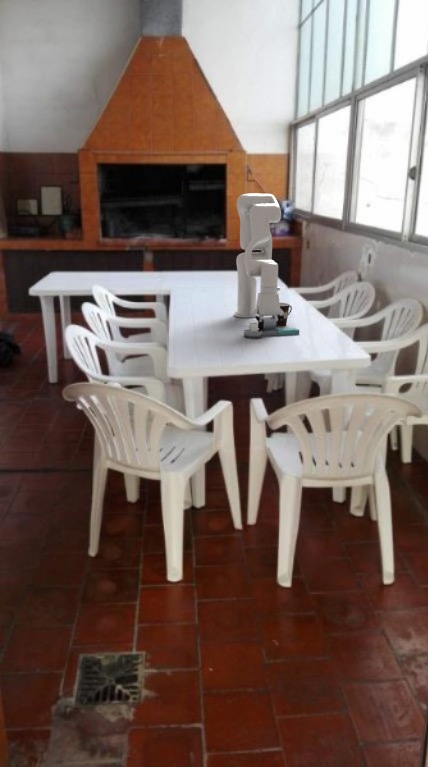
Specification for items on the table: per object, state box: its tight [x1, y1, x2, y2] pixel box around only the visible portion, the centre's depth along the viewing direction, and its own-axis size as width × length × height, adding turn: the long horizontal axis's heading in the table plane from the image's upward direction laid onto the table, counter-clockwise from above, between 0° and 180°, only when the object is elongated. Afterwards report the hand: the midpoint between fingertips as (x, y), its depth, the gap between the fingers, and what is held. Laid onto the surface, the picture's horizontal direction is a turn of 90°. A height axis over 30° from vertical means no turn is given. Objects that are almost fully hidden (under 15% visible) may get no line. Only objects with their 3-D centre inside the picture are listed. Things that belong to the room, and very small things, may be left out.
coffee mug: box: [271, 302, 293, 328], centre depth 279 cm, size 12×9×10 cm
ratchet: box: [243, 322, 300, 340], centre depth 259 cm, size 8×26×6 cm, turn 108°
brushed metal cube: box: [262, 316, 277, 331], centre depth 267 cm, size 6×6×6 cm
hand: (267, 329), depth 267 cm, fingers closed on brushed metal cube, 6 cm apart
